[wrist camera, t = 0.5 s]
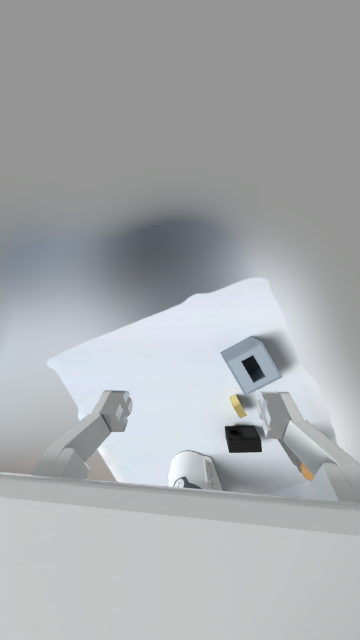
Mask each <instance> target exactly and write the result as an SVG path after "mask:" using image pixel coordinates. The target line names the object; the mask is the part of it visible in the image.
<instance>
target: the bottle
mask: <svg viewBox="0 0 360 640" xmlns="http://www.w3.org/2000/svg"><path fill="white" fill-rule="evenodd" d="M278 440H279V442H280V443H281V445H282V447H283V448H284V450H285V451H286V453H287V454H288V456H289V458H290V459H291V461H292V462H293V463H294V465H296V466H297V468H298V469H299V471H300V472H301V473H303V476H304V477H305V478H306V479H307V480H310V481H312V480H313V478H314V476H313V474H312V473H311V472H310V471H309V470H308V469H307V468H306V466H305V465H304V464H303V463H302V462H301V461H300V460H299V458H298V457H297V456H296V455H295V454H294V453H293V451H292V450H291V449H290V448H289V447H288V446H287V445H286V443H285V442H284V441H283V439H278Z"/></svg>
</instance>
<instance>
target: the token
mask: <svg viewBox="0 0 360 640" xmlns="http://www.w3.org/2000/svg"><path fill="white" fill-rule="evenodd" d="M230 400H231V402H232V405H233V407H234V409H235V411H236V412H237V414H238V416H239V417H240V418H242V417H244V416H246V413H245V411H244V408H243V406H242V404H241V403H240V401H239V399H238V398H237V396H236V394H235V395H233V396H231V397H230Z"/></svg>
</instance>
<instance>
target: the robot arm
mask: <svg viewBox="0 0 360 640" xmlns="http://www.w3.org/2000/svg"><path fill="white" fill-rule="evenodd" d="M257 408H258V413H259V417H260V418H261V419H262V420H263V424H262V427H263V430H264V433H265V436H266V438H273V439H283V441H284V442H285V443H286V445H287V446H288V447H289V448H290V449H291V450H292V451H293V453H294V454H295V455H296V456H297V457H298V458H299V460H300V461H301V462H302V463H303V464H304V465H305V466H306V468H307V469H308V470H309V471H310V472H311V473H312V474H313V476H314V478H313V480H312V481H311V483H310V484H309V486H308V489H309V491H310V494H311V496H312V499H311V498H299V497H288V496H276V495H264V494H252V493H240V492H229V491H223V489H222V486H221V484H220V481H219V478H218V475H217V472H216V470H215V467H214V464H213V461H212V459H211V457H208V456H202V455H200V454H198V453H196V452H192V451H185V452H181V453H179V454H177V455H176V456H175V457H174V458H173V460H172V462H171V468H170V473H169V474H168V479H167V480H168V482H169V486H158V485H146V484H134V483H122V482H110V481H99V480H87V477H88V475H89V472H90V468H89V467H88V466H87V464H86V463H85V462H86V461H87V459H88V458H89V457H90V456H91V455H92V454H93V453H94V451H95V450H96V449H97V448H98V447H99V446H100V445H101V444H102V442H103V441H104V440H105V439H106V438H107V437H108V436H109V434H110V433H111V432H124V430H125V428H126V425H127V422H128V420H127V417H128V416H129V415H130V414H131V411H132V399H131V398H130V397H129V392H128V391H113V390H105V391H104V392H103V393H102V395H101V397H100V399H99V400H98V402H97V404H96V406H95V408H94V409H93V411H92V413H91V414H88V415H87V416H86V417H85V418H83V419H82V420H81V421H80V422H78V423H77V424H76V425H75V426H73V427H72V428H71V429H70V430H69V431H67V432H66V433H65V434H64V435H62V436H61V437H60V438H59V439H57V440H56V441H55V442H54V443H52V444H51V445H50V446H49V448H48V449H47V451H46V452H45V454H44V455H43V457H42V458H41V460H40V461H39V463H38V464H37V466H36V467H35V469H34V470H33V472H32V473H31V475H26V474H16V473H4V472H0V640H360V464H359V463H358V462H357V461H356V460H355V459H353V458H352V457H351V456H350V455H348V454H347V453H346V452H344V450H342V449H341V448H340V447H339V446H337V445H336V444H335V443H334V442H332V441H331V440H330V439H329V438H328V437H326V436H325V435H324V434H323V433H321V432H320V431H319V430H318V429H317V428H315V427H314V426H313V425H312V424H310V423H309V422H308V421H307V420H303V418H302V416H301V414H300V412H299V410H298V409H297V407H296V405H295V403H294V401H293V399H292V397H291V395H290V394H289V393H288V392H259V400H258V402H257ZM209 463H210V464H209Z"/></svg>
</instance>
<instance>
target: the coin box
mask: <svg viewBox="0 0 360 640" xmlns="http://www.w3.org/2000/svg"><path fill="white" fill-rule="evenodd" d="M221 355H222V357H223V358H224V360H225V362H226V364H227V365H228V367H229V369H230V370H231V372H232V374H233V375H234V377H235V379H236V381H237V382H238V384H239V386H240V387H241V389H242V391H243V393H244V394H245V396H246V395H248V394H250V393H252V392H254V391H256V390H258V389H260V388H262V387H264V386H266V385H268V384H270V383H272V382H274V381H276V380H278V379H280V378H282V375H281V374H280V372H279V370H278V369H277V367H276V365H275V363H274V362H273V360H272V358H271V356H270V355H269V353H268V351H267V350H266V348H265V346H264V344H263V343H262V341H260V340H258V339H256V338H254V337H252V336H250V337H248V338H246V339H244V340H243V341H241V342H239V343H237V344H235V345H233V346H232V347H230V348H228V349H226V350H224V351H223V352H221ZM252 355H253V356H254V358H255V359H256V361H257V363H258V364H259V366H260V368H259V369H257V370H255V371H253V372H251V373H249V374H248V372H247V371H246V369H245V367H244V366H243V364H242V362H241V361H243V360H245V359H247V358H249V357H250V356H252Z"/></svg>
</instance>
